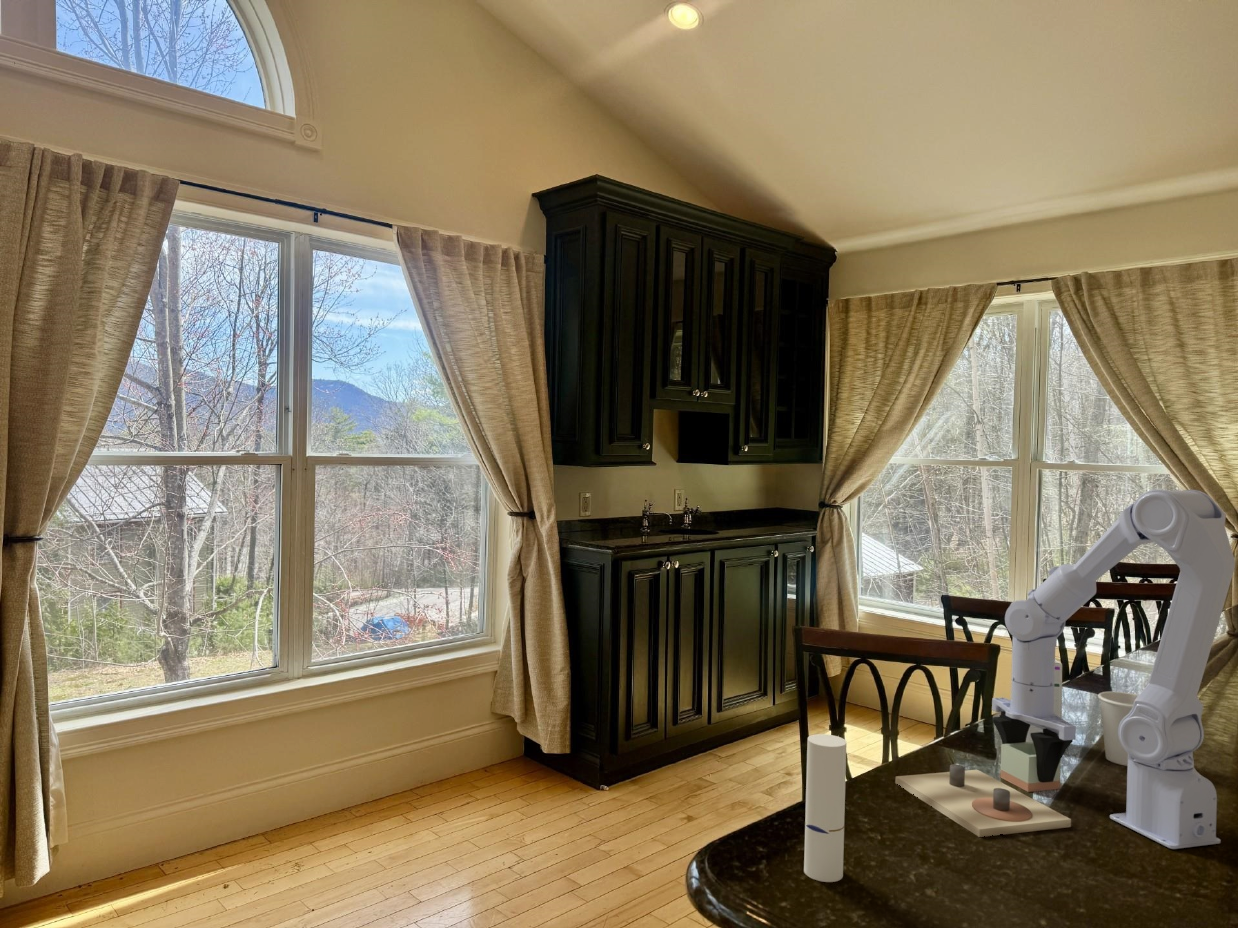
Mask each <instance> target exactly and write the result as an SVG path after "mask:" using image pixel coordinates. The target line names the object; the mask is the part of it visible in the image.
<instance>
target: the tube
mask: <svg viewBox="0 0 1238 928" xmlns="http://www.w3.org/2000/svg"><path fill="white" fill-rule="evenodd" d="M806 746H807V750H806V777H805V778H806V782H805V783H806V786H805V788H806V789H805V815H804V817H805V821H804V851H803V852H804V856H803V857H804V860H803V873H804V874H805V875H806V876H807V877H809V878H810V879H812V880H814V881H815V880H816V881H818V882H825V883H833V882H834V883H835V882H838V881H840V880H842V879H843V877H844V844H845V814H846V813H845V812H846V811H845V810H846V809H845V807H846V805H845V804H846V801H845V800H846V779H847V778H846V775H847V773H846V772H847V771H846V769H847V767H846V766H847V740H846V739H844V738H843V737H840V736H837V735H832V734H826V733H817V734H812V735H811V734H810V735H809V736H808V737H807V745H806Z"/></svg>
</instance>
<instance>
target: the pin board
mask: <svg viewBox="0 0 1238 928" xmlns="http://www.w3.org/2000/svg"><path fill="white" fill-rule="evenodd" d="M894 782H895V784H896V785H897V784H898V785H897V786H899V785H900V786H901V787H900V786H899V787H900V788H902V789H903V788H904V790H906V791H907V792H908V793H909V794H912V795H913V794H914V795H913V796H915V797H916V798H917V797H918V798H917V799H919V800H921V801H922V802H924V803H925V804H927V805H928V806H930V807H931V806H932V808H933V809H935V810H936V811H938V812H939V813H941V814H943V815H944V816H946V817H948V819H950V820H952V821H953V822H955V823H956V824H958V825H959V826H961V827H963V828H965V829H966V830H968V831H969V832H970V833H973V835H975V836H977V837H978V838H982V837H984V836H985V837H990V836H991V837H993V836H1000V834H1003V835H1011V834H1019V833H1020V834H1021V833H1028V832H1037V831H1046V830H1057V829H1064V828H1071V827H1072V819H1071V818H1070V817H1068V816H1065V815H1063V814H1062V813H1060V812H1058V811H1057V810H1054V809H1052V808H1050V807H1049V806H1047V805H1046V804H1043V803H1042V802H1039V801H1038V800H1035V799H1033V798H1031V797H1029V796H1028V795H1026V794H1024V793H1023V792H1020V791H1019V790H1016V789H1015V788H1013V787H1011V786H1010V785H1008V784H1006V783H1003V782H1002V781H1000V780H998V779H996V778H994V777H992V776H991V775H988V774H987V773H984V772H983V771H981V770H979V769H969V770H966V767H965V766H963V765H961V764H956V763H955V764H954V763H953V764H950V765H949V771H945V772H936V773H935V772H931V773H922V774H910V775H898V776H895V781H894ZM992 835H993V836H992ZM985 837H984V838H985Z"/></svg>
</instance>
